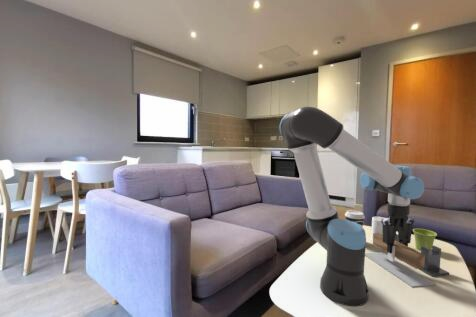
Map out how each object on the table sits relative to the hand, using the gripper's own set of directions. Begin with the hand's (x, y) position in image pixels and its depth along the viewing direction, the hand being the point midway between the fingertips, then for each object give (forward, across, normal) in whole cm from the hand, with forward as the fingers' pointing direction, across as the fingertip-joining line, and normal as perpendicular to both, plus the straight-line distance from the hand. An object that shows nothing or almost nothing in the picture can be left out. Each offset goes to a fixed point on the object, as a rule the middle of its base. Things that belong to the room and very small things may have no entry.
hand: (395, 259), depth 99 cm
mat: (+3, 0, 0) cm, 3 cm away
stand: (+3, +13, +4) cm, 14 cm away
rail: (-2, 0, 0) cm, 2 cm away
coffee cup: (+3, +1, +28) cm, 28 cm away
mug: (+4, +15, +24) cm, 28 cm away
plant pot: (+4, +29, +14) cm, 32 cm away
